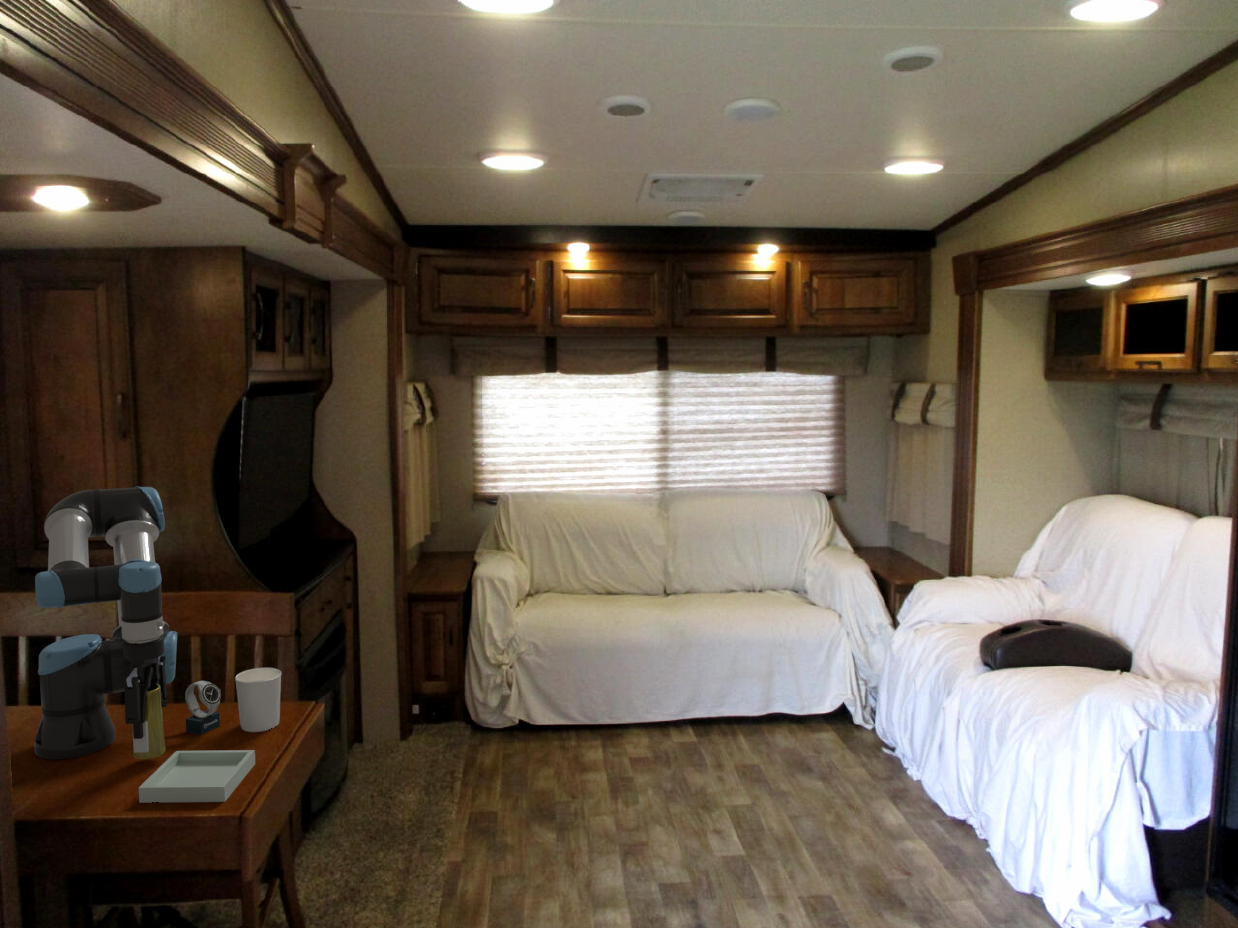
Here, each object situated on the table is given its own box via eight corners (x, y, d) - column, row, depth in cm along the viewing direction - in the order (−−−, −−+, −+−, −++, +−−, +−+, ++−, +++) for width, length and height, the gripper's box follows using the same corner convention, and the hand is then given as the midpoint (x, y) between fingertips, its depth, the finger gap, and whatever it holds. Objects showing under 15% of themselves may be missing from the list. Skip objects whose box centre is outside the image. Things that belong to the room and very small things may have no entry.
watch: (207, 736, 199) (205, 689, 198) (180, 730, 202) (177, 684, 200) (226, 726, 204) (224, 680, 203) (199, 721, 207) (197, 675, 206)
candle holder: (253, 714, 211) (251, 666, 210) (291, 718, 209) (289, 668, 208) (228, 731, 202) (226, 680, 200) (267, 735, 200) (266, 683, 198)
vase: (151, 761, 182) (148, 694, 181) (125, 757, 184) (122, 691, 182) (172, 748, 188) (169, 683, 187) (147, 745, 190) (143, 680, 188)
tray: (139, 802, 169) (138, 787, 169) (177, 764, 185) (176, 750, 185) (224, 801, 170) (224, 786, 170) (255, 763, 186) (254, 749, 186)
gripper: (139, 653, 174) (145, 765, 177) (182, 623, 192) (186, 725, 195) (100, 653, 173) (107, 765, 176) (146, 623, 192) (151, 725, 195)
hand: (148, 744), depth 186 cm, fingers closed on vase, 6 cm apart
